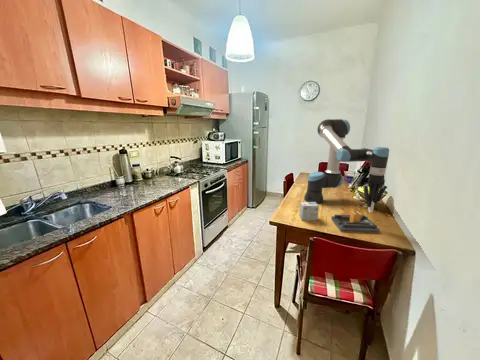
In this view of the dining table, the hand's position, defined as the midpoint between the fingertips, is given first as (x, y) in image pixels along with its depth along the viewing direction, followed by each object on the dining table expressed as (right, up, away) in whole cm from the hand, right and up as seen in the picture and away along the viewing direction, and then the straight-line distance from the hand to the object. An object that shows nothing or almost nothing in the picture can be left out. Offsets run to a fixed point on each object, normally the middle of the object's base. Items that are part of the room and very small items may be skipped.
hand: (370, 211), depth 122 cm
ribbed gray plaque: (-7, -7, +3) cm, 11 cm away
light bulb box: (-33, -7, +14) cm, 37 cm away
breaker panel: (-8, -9, +4) cm, 13 cm away
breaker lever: (-8, -7, +3) cm, 11 cm away
